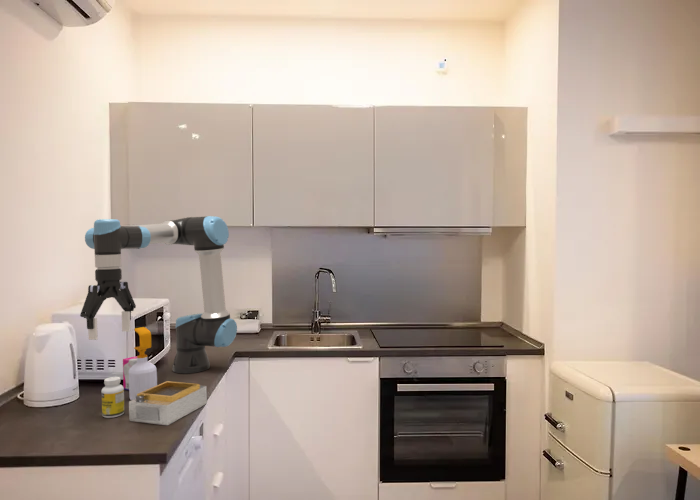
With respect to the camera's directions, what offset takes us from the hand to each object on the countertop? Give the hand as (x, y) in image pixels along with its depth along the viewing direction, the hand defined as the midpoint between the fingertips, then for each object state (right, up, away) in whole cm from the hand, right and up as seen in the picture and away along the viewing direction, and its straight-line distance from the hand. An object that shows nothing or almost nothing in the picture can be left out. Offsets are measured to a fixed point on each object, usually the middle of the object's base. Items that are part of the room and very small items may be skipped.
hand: (110, 335), depth 157 cm
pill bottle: (+1, -26, +1) cm, 26 cm away
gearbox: (+18, -25, +2) cm, 31 cm away
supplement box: (-5, -25, +29) cm, 39 cm away
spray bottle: (+3, -25, +18) cm, 31 cm away
